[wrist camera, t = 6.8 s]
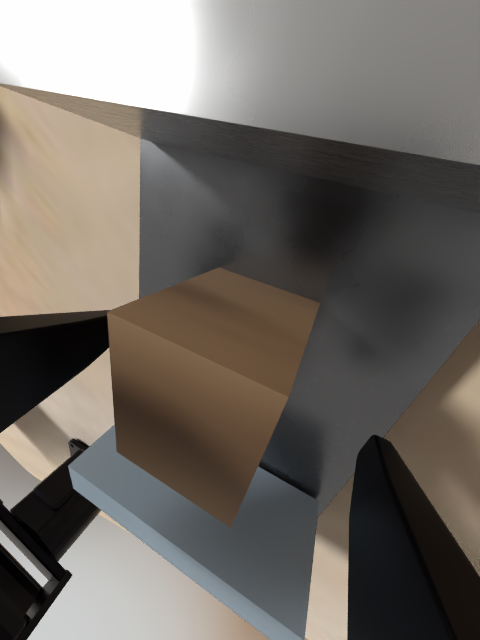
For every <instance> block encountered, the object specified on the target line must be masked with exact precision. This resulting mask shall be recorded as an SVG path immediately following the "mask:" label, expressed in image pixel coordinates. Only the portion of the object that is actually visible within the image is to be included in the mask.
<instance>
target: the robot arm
mask: <svg viewBox="0 0 480 640" xmlns="http://www.w3.org/2000/svg"><path fill="white" fill-rule="evenodd" d="M107 311H110V310H102V311H86V312H71V313H55V314H39V315H24V316H8V317H0V433H1V432H2V431H4V430H5V429H6V428H7V427H9V426H10V425H11V424H13V423H14V422H15V421H17V420H18V419H19V418H21V417H22V416H23V415H25V414H26V413H27V412H29V411H30V410H31V409H33V408H34V407H35V406H37V405H38V404H39V403H41V402H42V401H43V400H45V399H46V398H47V397H48V396H50V395H51V394H52V393H54V392H55V391H56V390H58V389H59V388H60V387H62V386H63V385H64V384H66V383H67V382H68V381H70V380H71V379H72V378H74V377H75V376H76V375H78V374H79V373H80V372H82V371H83V370H84V369H85V368H87V367H88V366H89V365H90V364H91V363H92V362H94V361H95V360H96V359H97V358H98V357H99V356H100V355H101V354H102V353H103V352H105V351H106V350H107V349H108V348H109V332H108V317H107ZM68 444H69V448H70V453H71V457H70V458H68V459H67V460H66V461H65V462H64V463H63V464H62V465H60V466H59V467H58V468H57V469H56V470H55V471H53V472H52V473H51V474H50V475H49V476H48V477H46V478H45V479H44V480H43V481H42V482H41V483H40V484H38V485H37V486H36V487H35V488H34V490H33V491H31V492H30V493H29V494H28V495H27V496H26V497H25V498H23V499H22V500H21V501H20V502H19V503H18V504H16V505H15V506H14V507H13V508H12V509H11V510H10V511H9V510H8V509H7V508H6V507H5V506H4V505H3V501H2V500H1V499H0V530H1V531H2V532H3V533H4V534H5V535H6V536H7V537H8V538H9V539H10V540H11V541H12V542H13V543H14V544H15V545H16V547H17V548H18V549H19V550H20V551H21V552H22V553H23V554H24V555H25V556H26V557H27V558H28V559H29V560H30V561H31V562H32V563H33V564H34V565H35V566H36V568H37V569H38V570H39V571H40V572H41V573H42V574H43V575H44V576H45V577H46V578H47V579H48V580H49V581H48V582H47V583H46V584H45V586H44V587H42V586H40V584H39V583H38V582H37V581H36V580H35V579H34V578H33V577H32V576H31V575H30V574H29V573H28V572H27V571H26V570H25V569H24V568H23V567H22V565H21V564H20V563H19V562H18V561H17V560H16V559H15V558H14V557H13V556H12V555H11V554H10V553H9V552H8V551H7V550H6V549H5V548H4V547H3V546H2V545H1V543H0V640H27V638H28V637H29V636H30V634H31V633H32V631H33V630H34V629H35V627H36V626H37V624H38V623H39V621H40V620H41V619H42V617H43V616H44V614H45V613H46V612H47V610H48V609H49V607H50V606H51V604H52V603H53V602H54V600H55V599H56V598H57V596H58V595H59V593H60V592H61V591H62V589H63V588H64V586H65V585H66V583H67V582H68V581H69V579H70V578H71V576H72V574H71V573H70V572H69V571H68V570H65V569H64V568H63V567H62V566H61V565H60V564H59V563H58V561H59V559H60V558H61V557H62V556H63V555H64V553H66V551H67V550H68V549H69V548H70V547H71V545H72V544H73V543H74V542H75V541H76V539H77V538H78V537H79V536H80V534H82V532H83V531H84V530H85V529H86V528H87V526H88V525H89V524H90V523H91V521H92V520H93V519H94V518H95V517H96V516H97V515H98V513H99V512H100V511H101V509H99V508H98V507H97V506H95V505H94V504H93V503H92V502H90V501H89V500H88V499H86V498H85V497H84V496H82V495H81V494H80V493H79V492H77V491H76V490H75V489H74V488H73V484H72V480H71V476H70V472H69V468H68V465H70V464H71V463H72V462H73V461H74V460H75V459H76V458H77V457H79V456H80V455H81V454H82V453H83V452H84V451H85V450H86V449H88V448H87V447H86V446H84V445H83V444H81V443H80V442H78V441H77V440H75V439H72V440H70V441H69V442H68ZM348 640H480V576H479V575H478V573H477V572H476V570H475V569H474V567H473V566H472V564H471V563H470V561H469V560H468V558H467V557H466V555H465V554H464V552H463V551H462V549H461V547H460V546H459V544H458V543H457V541H456V540H455V538H454V537H453V535H452V534H451V532H450V531H449V529H448V528H447V526H446V525H445V523H444V522H443V520H442V519H441V517H440V516H439V514H438V513H437V511H436V510H435V508H434V507H433V505H432V504H431V502H430V501H429V499H428V498H427V496H426V495H425V493H424V492H423V490H422V489H421V487H420V485H419V484H418V482H417V481H416V479H415V478H414V476H413V475H412V473H411V472H410V470H409V469H408V467H407V466H406V464H405V463H404V461H403V460H402V458H401V457H400V455H399V454H398V452H397V451H396V449H395V448H394V446H393V445H392V443H391V442H390V441H388V440H386V439H384V438H382V437H380V436H378V435H372V436H371V437H370V438H369V439H368V440H367V442H366V443H365V444H364V446H363V447H362V448H361V449H360V451H359V453H358V455H357V459H356V467H355V475H354V483H353V491H352V498H351V506H350V516H349V568H348Z"/></svg>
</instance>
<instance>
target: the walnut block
mask: <svg viewBox="0 0 480 640" xmlns="http://www.w3.org/2000/svg"><path fill="white" fill-rule="evenodd" d="M319 305H320V303H319V302H316V301H313V300H310V299H307V298H305V297H302V296H299V295H296V294H293V293H290V292H287V291H285V290H282V289H279V288H276V287H273V286H270V285H267V284H265V283H262V282H259V281H256V280H253V279H250V278H247V277H245V276H242V275H239V274H236V273H233V272H230V271H228V270H225V269H222V268H216V269H214V270H211V271H209V272H206V273H204V274H201V275H199V276H196V277H194V278H191V279H188V280H186V281H183V282H181V283H178V284H176V285H173V286H171V287H168V288H166V289H163V290H161V291H158V292H156V293H153V294H150V295H148V296H145V297H143V298H140V299H138V300H135V301H133V302H130V303H128V304H125V305H123V306H120V307H118V308H115V309H113V310H110V311H107V317H108V332H109V347H110V362H111V376H112V391H113V406H114V420H115V435H116V450H117V453H119V454H120V455H122V456H123V457H125V458H126V459H128V460H129V461H131V462H132V463H134V464H135V465H137V466H138V467H140V468H141V469H143V470H144V471H146V472H147V473H149V474H150V475H152V476H153V477H155V478H157V479H158V480H160V481H161V482H163V483H164V484H166V485H167V486H169V487H170V488H172V489H173V490H175V491H176V492H178V493H179V494H181V495H182V496H184V497H185V498H187V499H188V500H190V501H191V502H193V503H194V504H196V505H197V506H199V507H200V508H202V509H203V510H205V511H206V512H208V513H209V514H211V515H212V516H214V517H215V518H217V519H218V520H220V521H221V522H223V523H224V524H226V525H227V526H229V527H230V528H231V526H232V524H233V522H234V520H235V517H236V515H237V513H238V511H239V508H240V506H241V504H242V502H243V499H244V497H245V495H246V493H247V490H248V488H249V486H250V483H251V481H252V479H253V477H254V474H255V472H256V470H257V468H258V465H259V463H260V461H261V459H262V456H263V454H264V452H265V450H266V447H267V445H268V443H269V440H270V438H271V436H272V434H273V431H274V429H275V427H276V425H277V422H278V420H279V418H280V416H281V413H282V411H283V409H284V407H285V404H286V402H287V400H288V398H289V395H290V392H291V389H292V386H293V383H294V380H295V377H296V374H297V371H298V368H299V365H300V362H301V359H302V356H303V353H304V350H305V347H306V344H307V341H308V338H309V335H310V332H311V329H312V326H313V323H314V320H315V317H316V314H317V311H318V308H319Z"/></svg>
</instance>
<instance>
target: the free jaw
mask: <svg viewBox="0 0 480 640" xmlns="http://www.w3.org/2000/svg"><path fill="white" fill-rule="evenodd" d="M68 468H69V472H70V476H71V480H72V484H73V488H74V489H75V490H76V491H77V492H79V493H80V494H81V495H82V496H84V497H85V498H86V499H88V500H89V501H90V502H92V503H93V504H94V505H95V506H97V507H98V508H99V509H101V510H102V511H103V512H105V513H106V514H107V515H108V516H110V517H111V518H112V519H114V520H115V521H116V522H118V523H119V524H120V525H121V526H123V527H124V528H125V529H127V530H128V531H129V532H131V533H132V534H133V535H135V536H136V537H137V538H138V539H140V540H141V541H142V542H144V543H145V544H146V545H148V546H149V547H150V548H152V549H153V550H154V551H155V552H157V553H158V554H159V555H161V556H162V557H163V558H164V559H166V560H167V561H168V562H170V563H171V564H172V565H174V566H175V567H176V568H178V569H179V570H180V571H181V572H183V573H184V574H185V575H187V576H188V577H189V578H190V579H192V580H193V581H194V582H196V583H197V584H198V585H200V586H201V587H202V588H204V589H205V590H206V591H207V592H209V593H210V594H211V595H213V596H214V597H215V598H217V599H218V600H219V601H220V602H222V603H223V604H224V605H226V606H227V607H228V608H230V609H231V610H232V611H233V612H235V613H236V614H237V615H239V616H240V617H241V618H243V619H244V620H245V621H246V622H248V623H249V624H250V625H252V626H253V627H255V628H256V629H257V630H258V631H260V632H261V633H262V634H263V635H265V636H266V637H267V638H269V639H270V640H304V639H305V629H306V620H307V611H308V601H309V592H310V582H311V573H312V564H313V554H314V545H315V535H316V526H317V517H318V507H319V501H318V500H316V499H314V498H312V497H311V496H309V495H307V494H305V493H304V492H302V491H300V490H298V489H297V488H295V487H293V486H291V485H290V484H288V483H286V482H285V481H283V480H281V479H279V478H278V477H276V476H274V475H272V474H271V473H269V472H267V471H265V470H264V469H262V468H260V467H258V468H257V470H256V472H255V474H254V477H253V479H252V481H251V483H250V486H249V488H248V490H247V493H246V495H245V497H244V499H243V502H242V504H241V506H240V508H239V511H238V513H237V515H236V517H235V520H234V522H233V524H232V526H231V528H230V527H229V526H227V525H226V524H224V523H223V522H221V521H220V520H218V519H217V518H215V517H214V516H212V515H211V514H209V513H208V512H206V511H205V510H203V509H202V508H200V507H199V506H197V505H196V504H194V503H193V502H191V501H190V500H188V499H187V498H185V497H184V496H182V495H181V494H179V493H178V492H176V491H175V490H173V489H172V488H170V487H169V486H167V485H166V484H164V483H163V482H161V481H160V480H158V479H157V478H155V477H153V476H152V475H150V474H149V473H147V472H146V471H144V470H143V469H141V468H140V467H138V466H137V465H135V464H134V463H132V462H131V461H129V460H128V459H126V458H125V457H123V456H122V455H120V454H119V453H117V450H116V435H115V425H114V426H112V427H111V428H110V429H109V430H108V431H107V432H106V433H105V434H103V435H102V436H101V437H100V438H99V439H98V440H97V441H95V442H94V443H93V444H92V445H91V446H90V447H89V448H88V449H86V450H85V451H84V452H83V453H82V454H81V455H80V456H79V457H77V458H76V459H75V460H74V461H73V462H72V463H71V464H70V465H68Z"/></svg>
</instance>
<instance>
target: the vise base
mask: <svg viewBox="0 0 480 640" xmlns="http://www.w3.org/2000/svg"><path fill="white" fill-rule="evenodd" d="M0 86H2V87H5V88H7V89H10V90H13V91H15V92H18V93H21V94H23V95H26V96H29V97H31V98H34V99H37V100H39V101H42V102H45V103H48V104H50V105H53V106H56V107H58V108H61V109H64V110H66V111H69V112H72V113H74V114H77V115H80V116H82V117H85V118H88V119H91V120H93V121H96V122H99V123H101V124H104V125H107V126H109V127H112V128H115V129H117V130H120V131H123V132H125V133H128V134H131V135H133V136H136V137H139V138H141V153H140V265H139V299H140V298H143V297H145V296H148V295H150V294H153V293H156V292H158V291H161V290H163V289H166V288H168V287H171V286H173V285H176V284H178V283H181V282H183V281H186V280H188V279H191V278H194V277H196V276H199V275H201V274H204V273H206V272H209V271H211V270H214V269H216V268H222V269H225V270H228V271H230V272H233V273H236V274H239V275H242V276H245V277H247V278H250V279H253V280H256V281H259V282H262V283H265V284H267V285H270V286H273V287H276V288H279V289H282V290H285V291H287V292H290V293H293V294H296V295H299V296H302V297H305V298H307V299H310V300H313V301H316V302H319V303H320V305H319V308H318V311H317V314H316V317H315V320H314V323H313V326H312V329H311V332H310V335H309V338H308V341H307V344H306V347H305V350H304V353H303V356H302V359H301V362H300V365H299V368H298V371H297V374H296V377H295V380H294V383H293V386H292V389H291V392H290V395H289V398H288V400H287V402H286V404H285V407H284V409H283V411H282V413H281V416H280V418H279V420H278V422H277V425H276V427H275V429H274V431H273V434H272V436H271V438H270V440H269V443H268V445H267V447H266V450H265V452H264V454H263V456H262V459H261V461H260V463H259V465H258V467H260V468H262V469H264V470H265V471H267V472H269V473H271V474H272V475H274V476H276V477H278V478H279V479H281V480H283V481H285V482H286V483H288V484H290V485H291V486H293V487H295V488H297V489H298V490H300V491H302V492H304V493H305V494H307V495H309V496H311V497H312V498H314V499H316V500H318V501H319V507H318V516H319V515H320V514H321V513H322V512H323V510H324V509H325V508H326V507H327V505H328V504H329V503H330V502H331V500H332V499H333V498H334V497H335V496H336V494H337V493H338V492H339V491H340V489H341V488H342V487H343V486H344V485H345V483H346V482H347V481H348V480H349V478H350V477H351V476H352V475H353V474H354V472H355V467H356V459H357V455H358V453H359V451H360V449H361V448H362V447H363V446H364V444H365V443H366V442H367V440H368V439H369V438H370V437H371V436H372V435H378V436H380V437H382V438H383V437H384V436H385V434H386V433H387V432H388V431H389V430H390V428H391V427H392V426H393V425H394V423H395V422H396V421H397V420H398V419H399V417H400V416H401V415H402V414H403V412H404V411H405V410H406V409H407V408H408V406H409V405H410V404H411V403H412V401H413V400H414V399H415V398H416V397H417V395H418V394H419V393H420V392H421V390H422V389H423V388H424V387H425V386H426V384H427V383H428V382H429V381H430V379H431V378H432V377H433V376H434V375H435V373H436V372H437V371H438V370H439V368H440V367H441V366H442V365H443V364H444V362H445V361H446V360H447V359H448V357H449V356H450V355H451V354H452V353H453V351H454V350H455V349H456V348H457V346H458V345H459V344H460V343H461V342H462V340H463V339H464V338H465V337H466V335H467V334H468V333H469V332H470V331H471V329H472V328H473V327H474V326H475V324H476V323H477V322H478V321H479V320H480V0H0ZM317 518H318V517H317Z"/></svg>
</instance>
